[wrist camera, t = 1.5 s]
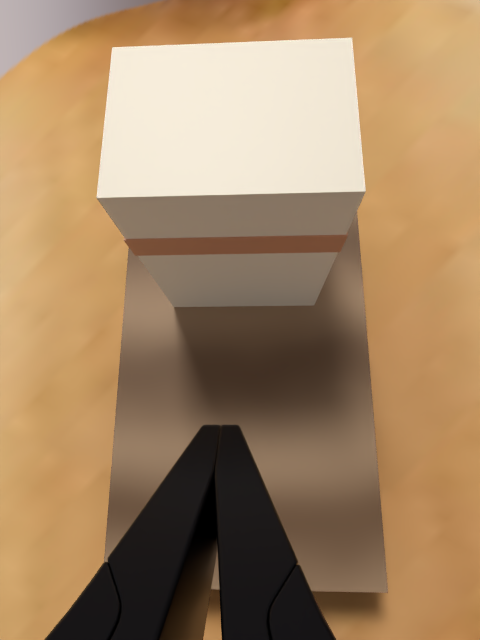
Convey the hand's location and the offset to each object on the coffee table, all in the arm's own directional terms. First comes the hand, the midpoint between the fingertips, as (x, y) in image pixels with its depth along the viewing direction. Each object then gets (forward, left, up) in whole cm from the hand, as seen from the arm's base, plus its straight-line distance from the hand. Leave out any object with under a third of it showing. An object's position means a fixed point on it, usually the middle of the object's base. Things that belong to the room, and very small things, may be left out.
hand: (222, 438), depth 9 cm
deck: (+3, +1, -14) cm, 14 cm away
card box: (+8, +2, -10) cm, 13 cm away
